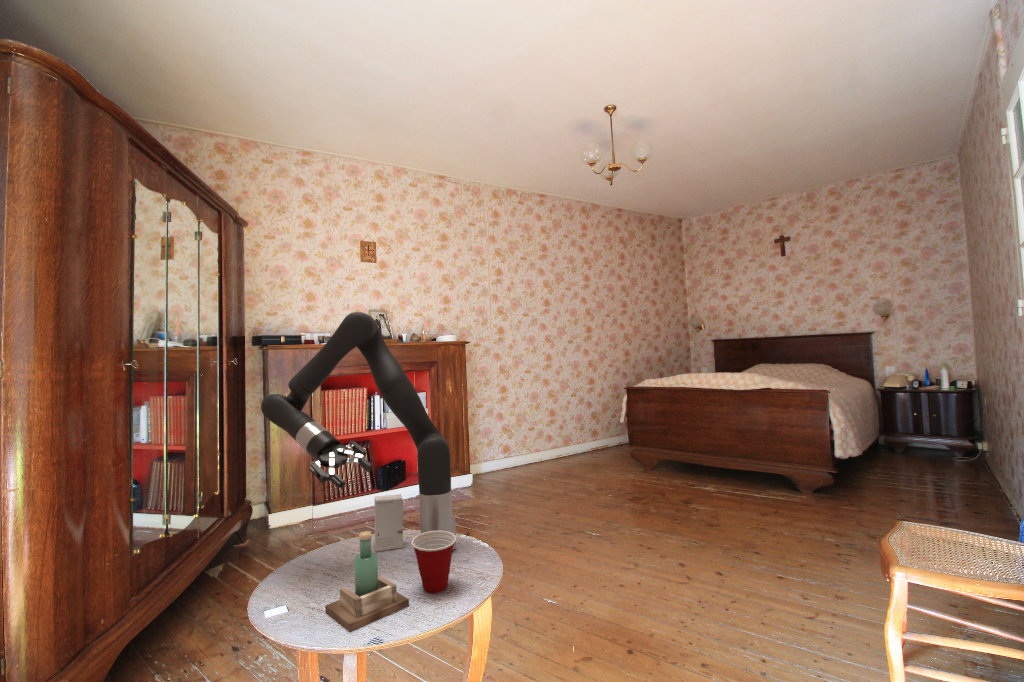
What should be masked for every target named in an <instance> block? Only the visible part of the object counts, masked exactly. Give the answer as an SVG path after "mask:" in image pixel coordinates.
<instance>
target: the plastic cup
mask: <svg viewBox="0 0 1024 682" xmlns="http://www.w3.org/2000/svg"><path fill="white" fill-rule="evenodd" d="M455 542H456V543H457V535H456V536H455V535H454V534H453V533H451V532H448V531H441V530H438V531H429V532H424V533H421V532H420V533H419V534H417V535H416V536H414V537H413V538H412V539H411V546H412V547H413V550H414V553H415V556H416V562H417V567H418V571H419V576H420V579H421V584H422V588H423V591H424V592H425V593H427V594H439V593H441V592H442V593H443V592H444V591H446V590H447V589H448V585H449V579H450V578H449V577H450V571H451V565H452V564H451V563H452V554H453V552H454V550H453V546H454V543H455ZM452 551H453V552H452Z"/></svg>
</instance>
